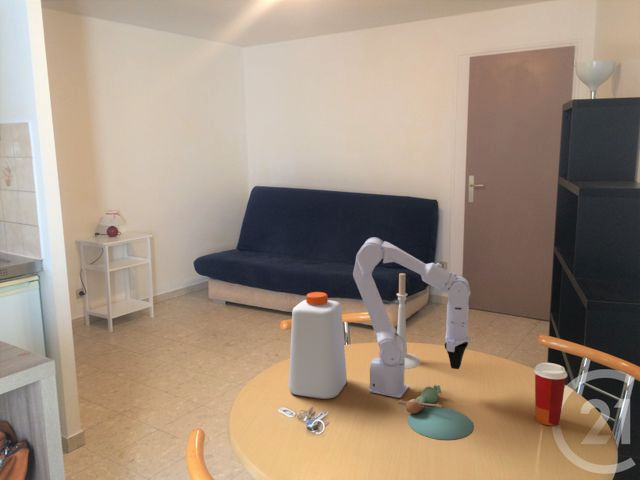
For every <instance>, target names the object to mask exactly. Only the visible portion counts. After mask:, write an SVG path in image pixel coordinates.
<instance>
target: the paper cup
mask: <svg viewBox="0 0 640 480" xmlns="http://www.w3.org/2000/svg"><path fill="white" fill-rule="evenodd" d="M532 371H533V373H534V380H535V381H534V384H535V385H534V391H535V392H534V397H535V398H534V400H535V401H534V402H535V403H534V404H535V420H536V422H538V423H539V424H541V425H543V426H544V425H545V426H550V427H551V426H552V427H553V426H557V425H559V424H560V421H561V414H562V410H563V409H562V408H563V400H564V393H565V388H566V387H565V386H566V378H567V377H568V373H567V371H566V369H565V367H564V366H562V365H560V364H557V363H552V362H540V363H538V364H536V366H534V369H532Z"/></svg>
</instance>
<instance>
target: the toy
mask: <svg viewBox="0 0 640 480" xmlns="http://www.w3.org/2000/svg"><path fill="white" fill-rule="evenodd" d="M440 393H442V389H441V385H440V384H437V385H436V384H434V385H433V387H432V386H427V387H426V386H425V388H423V389H422V390H421V394H420V396H417V397H416V398H412V399H409V400H408V401H405V400H404V401H403V400H401V399H400V400H399V401H398V402H397V403H398V404H399V405H400V404H405V409H406V411H407V412H408V413H410V414H411V413H412V414H416V413H418V412H420V411H421V410H423V409H424V408H426V407H442V404H440V403H437V404H435V402H436V401H437V400H438V396H439V394H440ZM442 408H443V407H442Z"/></svg>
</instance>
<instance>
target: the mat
mask: <svg viewBox="0 0 640 480" xmlns="http://www.w3.org/2000/svg"><path fill="white" fill-rule="evenodd" d="M407 423H408V425H409V427H410V428H411V429H412V430H413V431H414V432H416V434H419V435H422V436H424V437H425V438H430V439H435V440H439V441H440V440H441V441H443V440H444V441H452V440H460V439H463V438H465V437H467V436H469V435H470V434H471V433H472V432H473V429H474V424H473V421H472V420H471V418H469V416H467V415H466V414H464V413H462V412H460V411H458V410H455V409H451V408H448V407H436V406H426V407H425V408H424V409H423V410H421V411H420V412H418V413H416V414H412V413H410V414H409V416H408V418H407Z"/></svg>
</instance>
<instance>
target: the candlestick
mask: <svg viewBox="0 0 640 480" xmlns="http://www.w3.org/2000/svg"><path fill="white" fill-rule="evenodd" d="M406 279H407V278H406V273H403V272H401V273H399V274H398V292H397V293H396V295H395V296H397V300H398V303H399V304H398V312H397V313H398V315H397V316H398V317H397V330H396V332H397V333H398V335H400V336H401V337H402V339H403V341H404V347H403V351H402V356H403V358H404V359H405V370H407V369H415V368H417V367H419V366H420V365H421V364H420V363H421V362H422V360H421V359H420V358H419V357H418V356H417V355H415V354H413V353H409V352H408V348H407V325H406V324H407V323H406V321H407V320H406V304H405V302H406V301H407V296H408V293H406Z"/></svg>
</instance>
